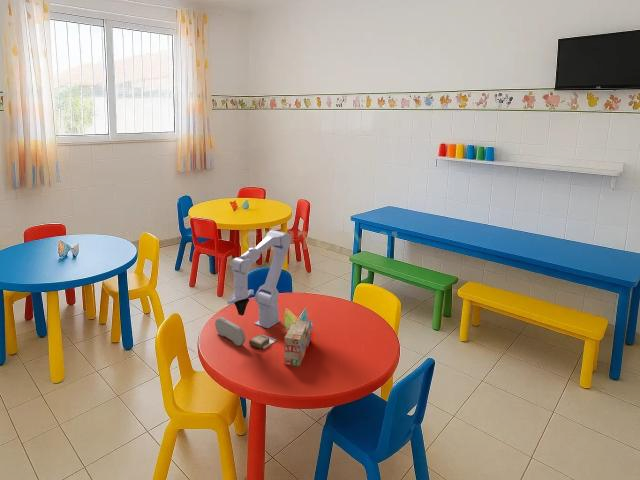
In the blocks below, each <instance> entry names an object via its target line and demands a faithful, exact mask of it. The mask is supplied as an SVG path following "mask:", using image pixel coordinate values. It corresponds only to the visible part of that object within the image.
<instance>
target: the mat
mask: <svg viewBox="0 0 640 480" xmlns="http://www.w3.org/2000/svg"><path fill="white" fill-rule="evenodd" d="M260 335H261V336H263V337H266V338H269V343H268V344H267V345H265V346H264V347H262V348H261V349H266V348H268V347H269V346H271V345H272V344H274V343H275V342H277V339H276V338H273V337H270V336H268V335H264V334H260Z"/></svg>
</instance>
